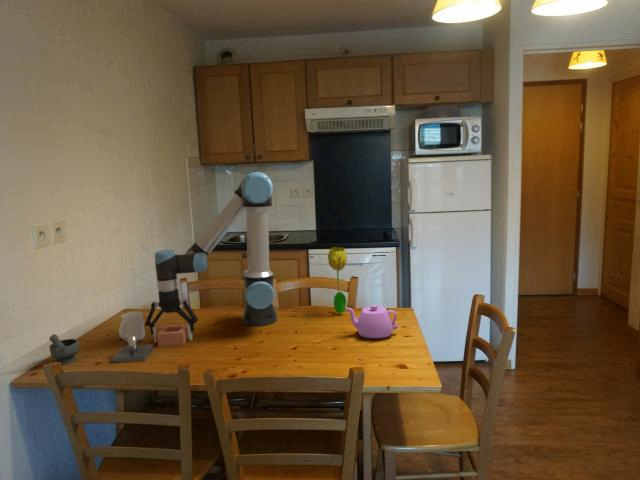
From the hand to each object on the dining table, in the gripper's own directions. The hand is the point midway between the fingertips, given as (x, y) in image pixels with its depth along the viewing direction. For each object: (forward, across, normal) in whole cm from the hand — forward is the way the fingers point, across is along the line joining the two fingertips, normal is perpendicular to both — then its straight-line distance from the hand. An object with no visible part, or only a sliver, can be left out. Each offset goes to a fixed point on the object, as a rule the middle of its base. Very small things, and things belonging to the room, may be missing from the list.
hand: (173, 340), depth 193 cm
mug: (0, +18, -5) cm, 19 cm away
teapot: (0, -79, +9) cm, 79 cm away
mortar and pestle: (+1, +36, +14) cm, 39 cm away
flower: (0, -69, -18) cm, 71 cm away
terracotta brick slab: (0, 0, 0) cm, 0 cm away
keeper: (0, +12, +12) cm, 17 cm away
